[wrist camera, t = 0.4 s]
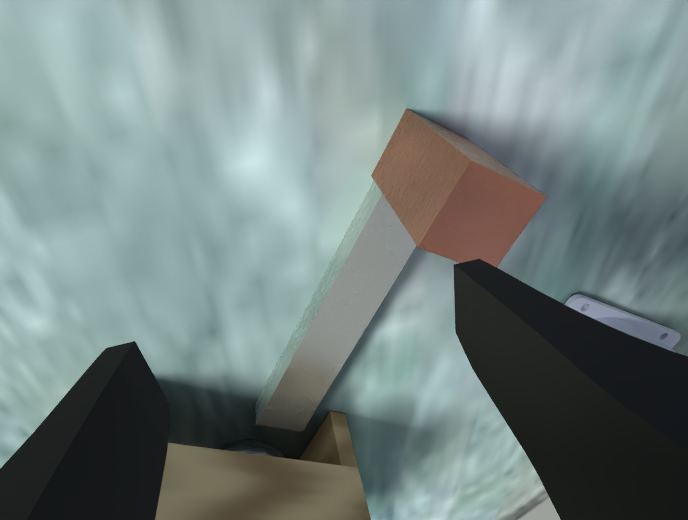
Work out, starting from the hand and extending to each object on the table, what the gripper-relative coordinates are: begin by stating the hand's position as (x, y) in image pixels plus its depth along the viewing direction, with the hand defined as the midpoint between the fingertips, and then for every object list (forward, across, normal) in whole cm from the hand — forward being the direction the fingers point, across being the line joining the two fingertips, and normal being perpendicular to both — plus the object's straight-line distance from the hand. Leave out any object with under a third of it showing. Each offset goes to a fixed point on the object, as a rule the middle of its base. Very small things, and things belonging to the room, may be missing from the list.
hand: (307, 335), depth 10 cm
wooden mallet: (+10, -2, +6) cm, 11 cm away
